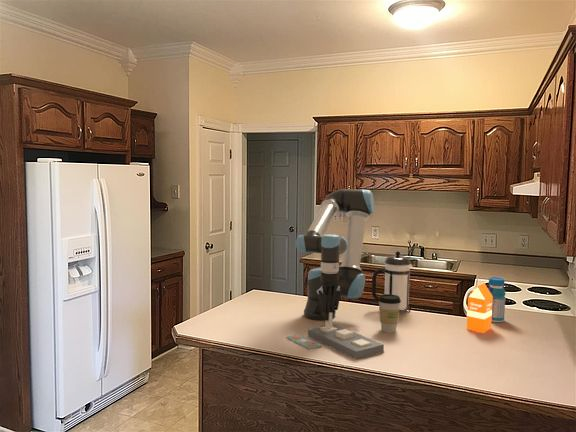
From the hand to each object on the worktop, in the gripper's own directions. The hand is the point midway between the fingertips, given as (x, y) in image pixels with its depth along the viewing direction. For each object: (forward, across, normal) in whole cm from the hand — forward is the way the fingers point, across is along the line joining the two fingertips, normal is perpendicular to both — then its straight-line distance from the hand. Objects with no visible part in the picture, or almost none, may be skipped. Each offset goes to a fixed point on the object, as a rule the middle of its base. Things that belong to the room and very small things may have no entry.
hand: (328, 327), depth 201 cm
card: (+4, -13, 0) cm, 14 cm away
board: (+4, 0, -10) cm, 11 cm away
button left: (+4, 0, 0) cm, 4 cm away
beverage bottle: (+4, +82, -23) cm, 85 cm away
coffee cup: (+4, +28, -7) cm, 29 cm away
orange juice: (+4, +64, -27) cm, 70 cm away
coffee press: (+4, +53, +14) cm, 55 cm away
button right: (+4, 0, -20) cm, 20 cm away
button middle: (+3, 0, -10) cm, 10 cm away
